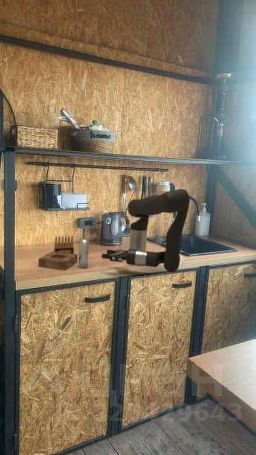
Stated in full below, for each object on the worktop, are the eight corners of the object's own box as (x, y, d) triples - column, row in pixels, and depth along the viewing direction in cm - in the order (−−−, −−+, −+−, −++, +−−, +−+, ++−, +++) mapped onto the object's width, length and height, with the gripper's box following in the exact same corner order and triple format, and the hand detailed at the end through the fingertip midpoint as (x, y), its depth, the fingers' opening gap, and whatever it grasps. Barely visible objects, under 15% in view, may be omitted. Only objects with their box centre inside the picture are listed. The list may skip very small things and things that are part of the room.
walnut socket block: (52, 258, 194) (52, 251, 193) (77, 261, 191) (77, 254, 191) (38, 266, 179) (38, 258, 178) (65, 270, 176) (65, 262, 175)
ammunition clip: (72, 256, 202) (73, 234, 200) (73, 256, 201) (74, 235, 198) (53, 257, 198) (54, 235, 195) (54, 258, 196) (54, 235, 194)
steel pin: (80, 265, 185) (81, 238, 183) (89, 266, 184) (90, 239, 182) (77, 267, 181) (78, 239, 178) (86, 269, 180) (87, 240, 177)
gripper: (140, 246, 182) (108, 243, 185) (134, 253, 168) (100, 249, 171) (139, 261, 183) (108, 257, 186) (133, 269, 169) (99, 265, 173)
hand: (104, 253), depth 179 cm, fingers open, 8 cm apart
